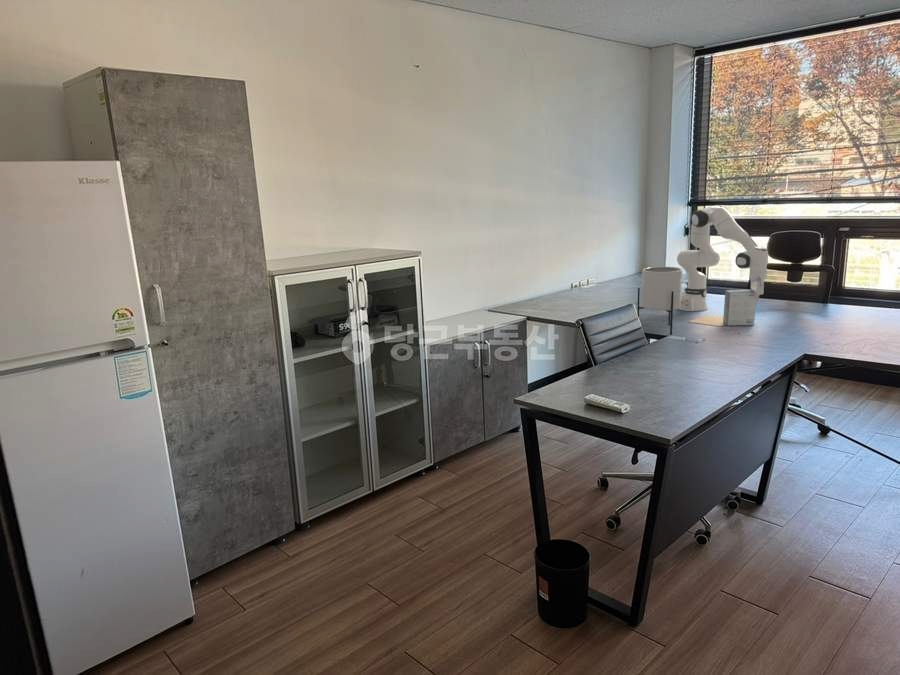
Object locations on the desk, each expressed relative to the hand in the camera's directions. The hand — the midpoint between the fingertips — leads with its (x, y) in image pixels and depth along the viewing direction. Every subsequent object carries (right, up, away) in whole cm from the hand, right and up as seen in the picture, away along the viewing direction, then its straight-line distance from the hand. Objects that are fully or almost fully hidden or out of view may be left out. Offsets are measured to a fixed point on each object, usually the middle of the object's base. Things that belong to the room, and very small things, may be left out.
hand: (756, 299), depth 349 cm
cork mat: (-15, -12, +22) cm, 29 cm away
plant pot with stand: (-53, -17, +10) cm, 56 cm away
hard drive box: (-5, -14, +11) cm, 19 cm away
